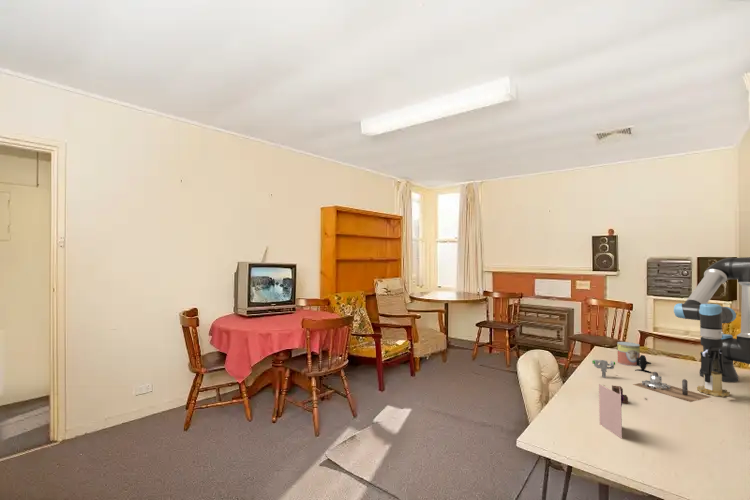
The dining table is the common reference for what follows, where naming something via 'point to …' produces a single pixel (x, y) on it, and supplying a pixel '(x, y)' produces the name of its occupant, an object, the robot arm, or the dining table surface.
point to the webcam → (642, 363)
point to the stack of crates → (617, 390)
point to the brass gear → (715, 386)
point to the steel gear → (656, 383)
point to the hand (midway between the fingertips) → (713, 388)
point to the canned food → (628, 353)
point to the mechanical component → (603, 366)
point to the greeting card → (610, 410)
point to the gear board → (678, 391)
